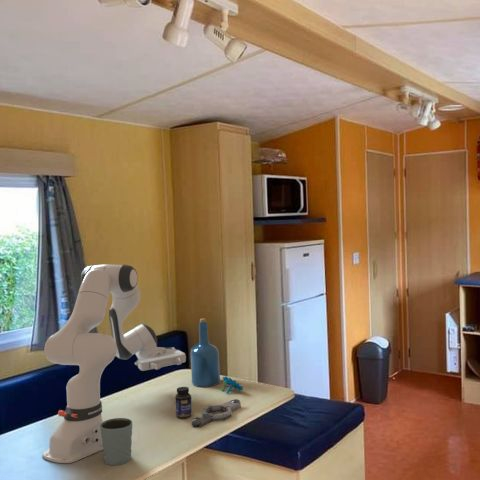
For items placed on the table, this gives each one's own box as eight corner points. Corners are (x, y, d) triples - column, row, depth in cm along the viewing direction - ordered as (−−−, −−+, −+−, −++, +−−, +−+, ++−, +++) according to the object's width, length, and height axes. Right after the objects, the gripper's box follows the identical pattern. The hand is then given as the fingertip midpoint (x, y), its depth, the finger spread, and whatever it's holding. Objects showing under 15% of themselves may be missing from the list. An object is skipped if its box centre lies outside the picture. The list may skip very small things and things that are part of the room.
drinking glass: (96, 460, 183) (94, 424, 182) (123, 449, 190) (120, 415, 189) (113, 469, 175) (111, 431, 175) (140, 458, 183) (138, 422, 182)
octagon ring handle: (204, 430, 203) (204, 423, 203) (183, 424, 210) (182, 417, 210) (248, 408, 224) (248, 401, 224) (228, 403, 231) (227, 397, 230)
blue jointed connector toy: (248, 388, 243) (232, 375, 239) (241, 400, 240) (225, 387, 237) (234, 386, 252) (218, 373, 248) (227, 398, 249) (211, 385, 246)
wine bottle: (226, 381, 261) (223, 317, 259) (207, 389, 250) (204, 322, 249) (204, 377, 269) (201, 315, 267) (185, 384, 259) (181, 320, 257)
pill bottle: (182, 420, 214) (180, 392, 213) (173, 416, 219) (171, 388, 218) (195, 416, 218) (193, 388, 217) (185, 412, 223) (184, 384, 222)
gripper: (132, 355, 234) (144, 362, 223) (177, 346, 245) (191, 352, 233) (133, 369, 235) (145, 377, 223) (178, 360, 245) (191, 367, 233)
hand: (169, 365), depth 228 cm, fingers open, 8 cm apart
